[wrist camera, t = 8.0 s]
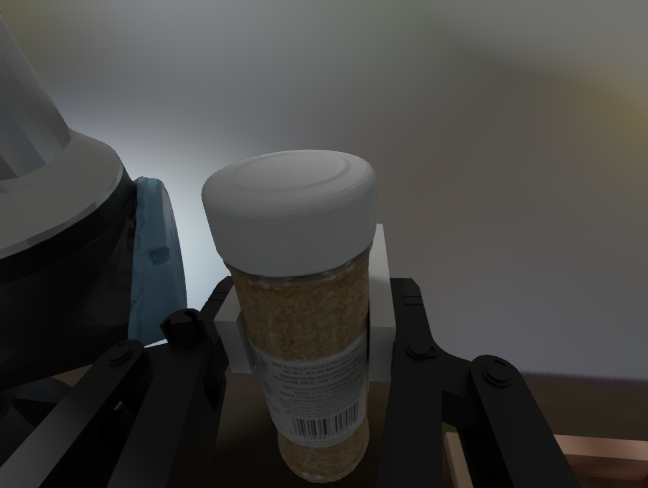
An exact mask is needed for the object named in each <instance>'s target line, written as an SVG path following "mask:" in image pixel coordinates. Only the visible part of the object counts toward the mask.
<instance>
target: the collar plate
mask: <svg viewBox="0 0 648 488" xmlns="http://www.w3.org/2000/svg"><path fill="white" fill-rule="evenodd" d="M554 437H555V439H556V440H557V442H558V444H559V446H560V448H561V450H562V452H563V453H564V455H565V457H566V459H567V461H568V463H569V465H570V466H571V468H572V470H573V472H574V474H575V476H576V478H577V480H578V481H579V483H580V485H581V487H582V488H648V442H647V441H633V440H620V439H606V438H593V437H579V436H566V435H554ZM444 446H445V450H446V455H447V459H448V464H449V468H450V473H451V478H452V482H453V487H454V488H473V485H472V482H471V478H470V475H469V471H468V468H467V464H466V461H465V457H464V453H463V450H462V446H461V443H460V439H459V436H458V433H451V432H446V435H445V438H444Z"/></svg>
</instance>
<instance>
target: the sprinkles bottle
mask: <svg viewBox="0 0 648 488" xmlns="http://www.w3.org/2000/svg"><path fill="white" fill-rule="evenodd" d="M201 195H202V202H203V205H204V209H205V212H206V216H207V220H208V223H209V227H210V230H211V233H212V236H213V240H214V243H215V246H216V250H217V252H218V254H219V255H220V256H221V258H222V259H223V262H224V264H225V265H226V267H227V268H228V269H229V271H230V272H231V275H232V278H233V282H234V287H235V290H236V293H237V296H238V300H239V304H240V308H241V311H242V314H243V317H244V321H245V330H246V334H247V337H248V341H249V344H250V347H251V351H252V354H253V357H254V361H255V364H256V367H257V371H258V374H259V378H260V381H261V385H262V388H263V391H264V395H265V398H266V401H267V405H268V408H269V411H270V414H271V417H272V420H273V422H274V424H275V426H276V429H277V432H278V445H279V448H280V452H281V455H282V458H283V459H284V461H285V462H286V464H287V465H288V467H289V468H290V469H291V470H292V471H293V472H294V473H295V474H296V475H298V476H300V477H302V478H303V479H305V480H307V481H310V482H315V483H327V482H330V481H332V482H333V481H337V480H339V479H341V478H343V477H344V476H346V475H348V474H349V473H350V472H352V471H353V470H354V469H355V467H356V466H357V465H358V464H359V462H360V460H361V459H362V458H363V456H364V453H365V450H366V448H367V445H368V441H369V423H368V418H367V394H368V392H369V367H368V346H369V343H368V341H369V270H368V267H369V253H370V250H371V248H372V246H373V239H374V236H375V232H376V222H377V180H376V174H375V172H374V169H373V168H372V166H371V165H370V164H369V163H368V162H366V161H365V160H363V159H361V158H359V157H357V156H354V155H351V154H347V153H342V152H336V151H327V150H295V151H284V152H277V153H271V154H265V155H260V156H256V157H252V158H248V159H244V160H241V161H239V162H236V163H233V164H231V165H228V166H226V167H224V168H222V169H220V170H218V171H217V172H215V173H214V174H213V175H212V176H210V177H209V178H208V179H207V181H206V182H205V184H204V186H203V188H202V194H201Z"/></svg>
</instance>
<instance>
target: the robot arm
mask: <svg viewBox="0 0 648 488" xmlns="http://www.w3.org/2000/svg"><path fill="white" fill-rule="evenodd" d="M368 270H369V341H368V343H369V346H368V367H369V381H384V382H391V385H390V391H389V398H388V405H387V411H386V418H385V425H384V431H383V438H382V445H381V451H380V458H379V465H378V471H377V478H376V485H375V488H442V422H444V423H447V424H449V425H452V426H454V427H456V429H457V432H458V436H459V439H460V443H461V446H462V450H463V453H464V457H465V461H466V464H467V468H468V471H469V475H470V478H471V482H472V485H473V488H582V487H581V485H580V483H579V481H578V480H577V478H576V476H575V474H574V472H573V470H572V468H571V466H570V465H569V463H568V461H567V459H566V457H565V455H564V453H563V452H562V450H561V448H560V446H559V444H558V442H557V440H556V439H555V437H554V435H553V433H552V431H551V429H550V427H549V425H548V424H547V422H546V420H545V418H544V416H543V414H542V412H541V411H540V409H539V407H538V405H537V403H536V401H535V399H534V398H533V396H532V394H531V392H530V390H529V388H528V386H527V384H526V383H525V381H524V379H523V377H522V375H521V374H520V373H519V371H518V370H517V369H516V368H515V367H514V366H513V365H511V364H510V363H509V362H508V361H506V360H504V359H502V358H499V357H497V356H491V355H482V356H478V357H476V358H475V359H474V360H473V361H472V362H471V361H468V360H465V359H461V358H459V357H456V356H453V355H451V354H448V353H447V352H445V351H444V350H442V349H441V348H440V347H439V346H438V345H437V344H436V343H435V341H434V340H433V338H432V335H431V331H430V327H429V323H428V319H427V316H426V312H425V308H424V305H423V300H422V296H421V292H420V289H419V286H418V285H417V284H416V283H415V282H414V280H413V279H412V278H389V271H388V263H387V255H386V248H385V240H384V233H383V225H382V224H376V232H375V236H374V239H373V246H372V248H371V250H370V253H369V267H368ZM186 294H187V293H186V284H185V275H184V268H183V261H182V255H181V249H180V243H179V238H178V232H177V227H176V222H175V218H174V214H173V209H172V205H171V202H170V198H169V195H168V192H167V190H166V189H165V187H164V184H163V182H161V181H160V180H159V179H155V178H146V177H143V176H142V177H139V178H138V179H136V180H134V181H132V180H131V179H130V177H129V175H128V173H127V171H126V169H125V167H124V166H123V164H122V162H121V160H120V158H119V156H118V155H117V153H116V151H114V149H112V148H111V147H110V146H109V145H107V144H105V143H103V142H101V141H98V140H96V139H93V138H91V137H88V136H86V135H83V134H81V133H78V132H76V131H73V130H72V129H70V128H69V127H68V126H67V124H66V123H65V121H64V119H63V118H62V116H61V115H60V113H59V111H58V109H57V108H56V106H55V104H54V103H53V101H52V99H51V98H50V96H49V94H48V93H47V91H46V90H45V88H44V86H43V84H42V82H41V81H40V79H39V77H38V76H37V74H36V73H35V71H34V69H33V67H32V66H31V64H30V62H29V61H28V59H27V57H26V56H25V54H24V52H23V51H22V49H21V47H20V46H19V44H18V43H17V41H16V39H15V37H14V35H13V34H12V32H11V31H10V29H9V27H8V25H7V24H6V22H5V20H4V19H3V17H2V15H1V14H0V488H207V487H208V481H209V476H210V471H211V465H212V460H213V454H214V449H215V444H216V438H217V433H218V427H219V422H220V417H221V411H222V406H223V400H224V395H225V390H226V384H227V383H226V376H225V374H224V373H225V371H226V369H227V366H228V364H229V365H230V367H231V370H232V373H248V374H252V372H253V369H254V366H255V361H254V357H253V354H252V351H251V347H250V344H249V341H248V337H247V334H246V330H245V321H244V317H243V314H242V311H241V308H240V304H239V300H238V296H237V293H236V290H235V287H234V282H233V278H232V276H227V277H226V278H224V279H223V280H222V281H220V282H219V283H218V284H217V286H216V287H215V289H214V290H213V292H212V294H211V295H210V297H209V298H208V301H206V303H205V305H204V306H203V308H202V309H201V311H200V312H199V311H198V310H196V309H193V308H192V309H191V308H190V309H189V308H187V295H186ZM164 339H166V340H167V341H168V343H165V344H161V345H156V346H152V347H147V348H144V346H147V345H150V344H152V343H155V342H158V341H161V340H164ZM91 364H93V366H92V367H91V368H90V369H89V370H88V371H87V372H86V373H85V374H84V376H83V377H82V378H81V379H80V380H79V381H78V382H77V383H76V384H75V386H74V387H73V388H72V387H71V386H69V385H68V384H66V383H65V382H63V381H60V380H58V379H55V378H52V377H51V376H54V375H57V374H61V373H64V372H67V371H71V370H74V369H77V368H81V367H84V366H87V365H91ZM120 400H121V402H122V404H121V405H120V406H119V407H118V408H117V409H116V410H114V408H115V407H116V406H117V404H118V403H119V402H120Z"/></svg>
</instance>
